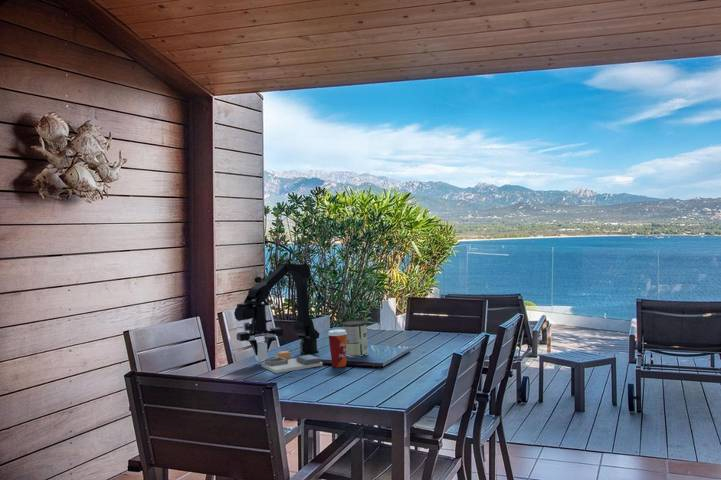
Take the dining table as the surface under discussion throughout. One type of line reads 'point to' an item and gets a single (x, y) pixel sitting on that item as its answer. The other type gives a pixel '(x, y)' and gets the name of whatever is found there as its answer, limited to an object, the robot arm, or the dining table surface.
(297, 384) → the dining table surface
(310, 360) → the grey piece
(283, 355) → the cable plug
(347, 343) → the coffee can
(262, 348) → the block
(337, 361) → the paper cup
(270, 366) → the board
